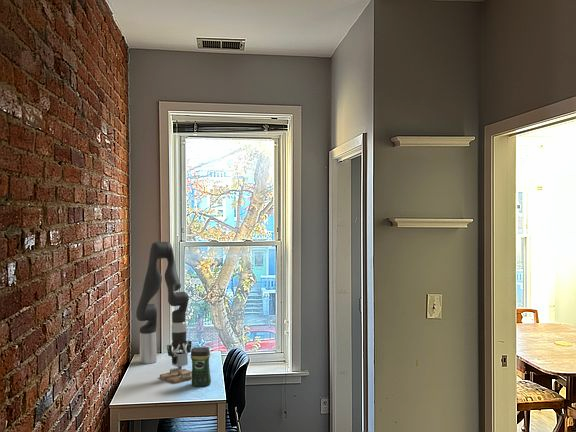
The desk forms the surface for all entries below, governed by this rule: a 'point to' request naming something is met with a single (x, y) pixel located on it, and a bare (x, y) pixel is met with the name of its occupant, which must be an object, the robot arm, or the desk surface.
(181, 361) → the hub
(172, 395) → the desk surface
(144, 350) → the robot arm
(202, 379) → the coffee jar
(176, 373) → the stand
